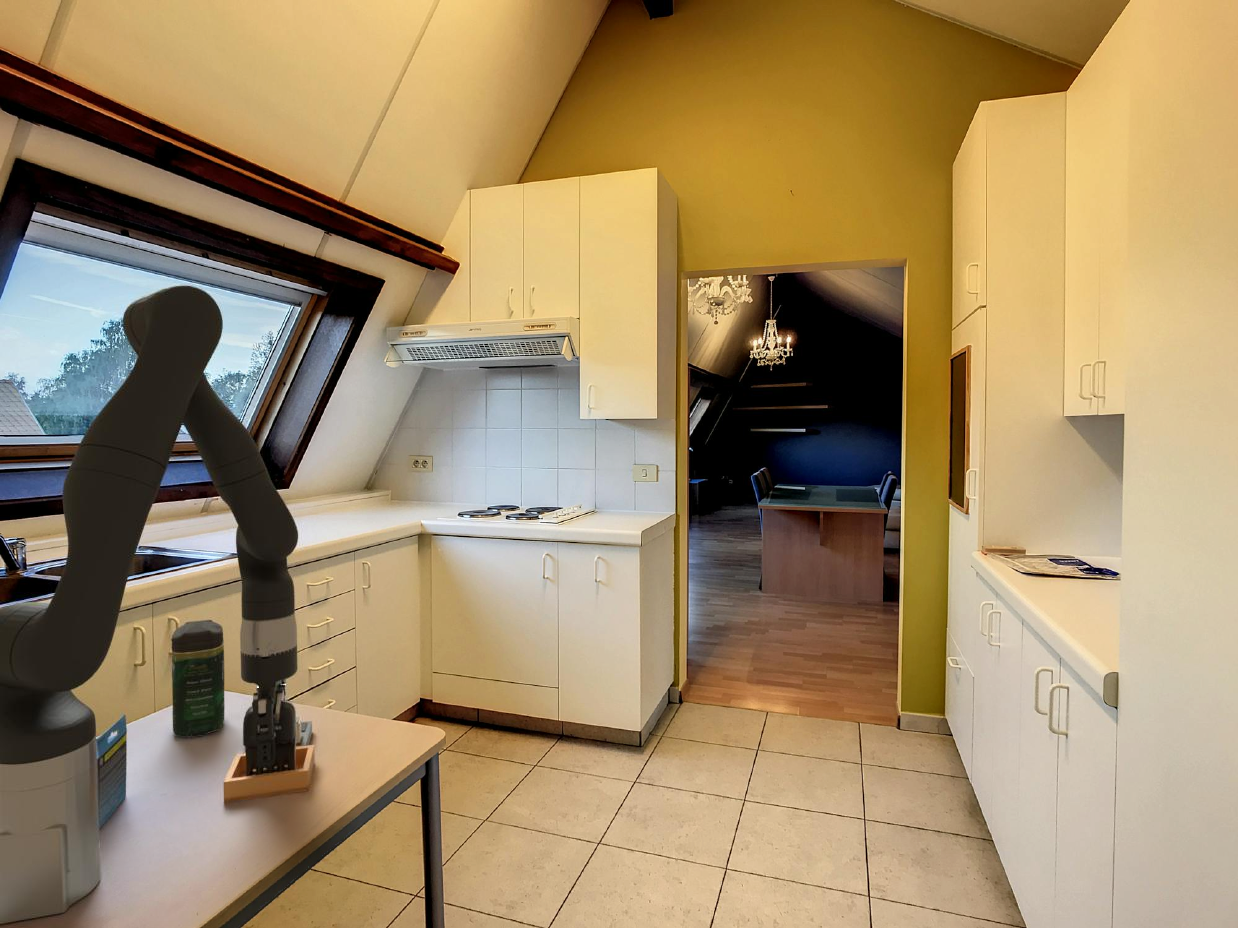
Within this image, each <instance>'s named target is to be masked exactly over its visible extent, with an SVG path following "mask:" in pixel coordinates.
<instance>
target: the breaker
mask: <svg viewBox="0 0 1238 928" xmlns="http://www.w3.org/2000/svg"><path fill="white" fill-rule="evenodd" d="M301 722H302V717H299V716H296V743H300V740H301Z"/></svg>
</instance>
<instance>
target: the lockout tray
mask: <svg viewBox="0 0 1238 928" xmlns="http://www.w3.org/2000/svg"><path fill="white" fill-rule="evenodd" d="M314 767H315V744H309V745H308V746H301V747H296V770H290V771H283V772H276V773H268V774H261V775H254V776H246V753H245V754H243V753H238V754H235V757H234V759H233V761H232V762H231V765H230V767H229V770H228V772H227V773H226V775H225V778H224V781H223V783H222V784H223V804H224V803H232V802H238V801H245V800H254V799H259V798H265V797H267V798H268V797H272V796H278V795H287V794H293V793H301V792H306V791H307V792H308V791H309V790H310V785H311V781H312V777H313V772H314Z"/></svg>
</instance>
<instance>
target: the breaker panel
mask: <svg viewBox="0 0 1238 928" xmlns="http://www.w3.org/2000/svg"><path fill="white" fill-rule="evenodd" d="M312 733H313V721H312V720H309V721H301V740H300V743H296V747H301V746H308V745H310V742H311V739H312V735H311V734H312ZM242 754H245V749H244V751H243V753H242Z"/></svg>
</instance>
